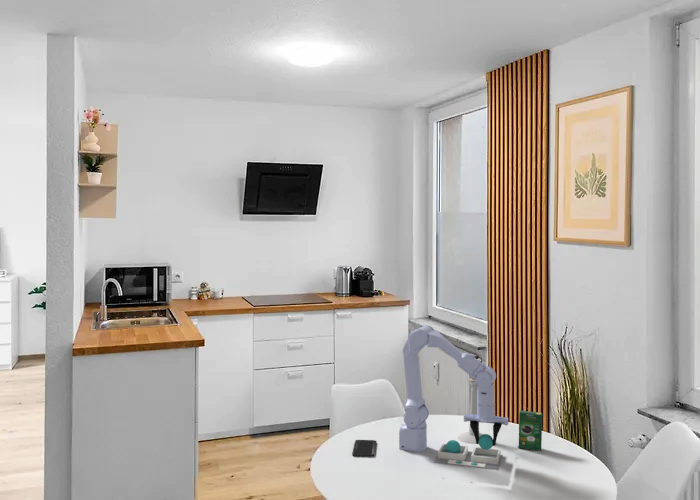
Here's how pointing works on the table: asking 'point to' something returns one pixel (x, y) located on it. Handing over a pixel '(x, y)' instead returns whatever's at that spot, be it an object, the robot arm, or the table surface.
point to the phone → (364, 448)
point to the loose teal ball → (485, 441)
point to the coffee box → (530, 430)
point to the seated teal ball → (453, 447)
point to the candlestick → (469, 436)
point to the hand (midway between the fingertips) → (485, 444)
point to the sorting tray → (470, 457)
